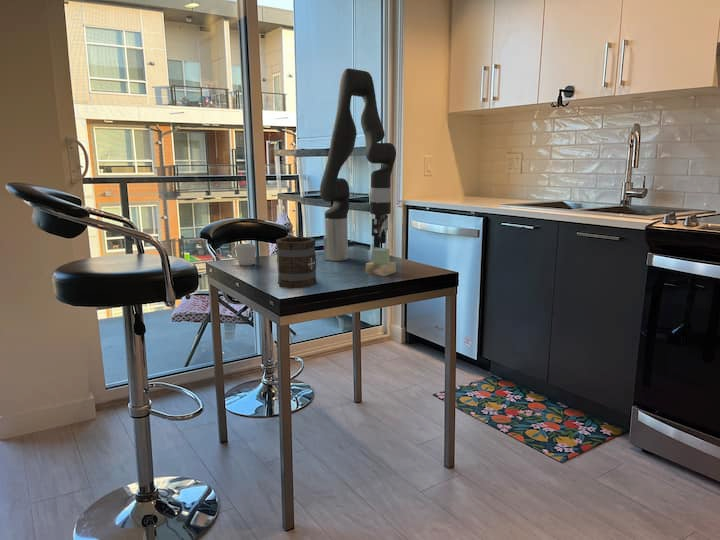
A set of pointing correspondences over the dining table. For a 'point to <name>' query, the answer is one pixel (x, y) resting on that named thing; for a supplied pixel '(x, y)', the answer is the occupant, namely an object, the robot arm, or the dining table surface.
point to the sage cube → (381, 256)
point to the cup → (245, 254)
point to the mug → (296, 262)
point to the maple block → (381, 268)
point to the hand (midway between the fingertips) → (379, 245)
